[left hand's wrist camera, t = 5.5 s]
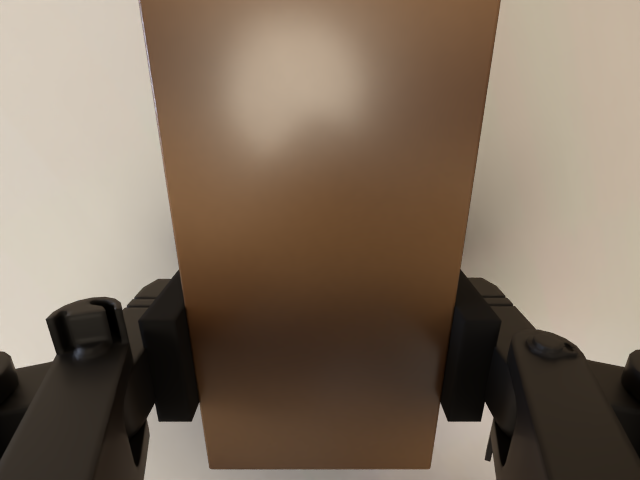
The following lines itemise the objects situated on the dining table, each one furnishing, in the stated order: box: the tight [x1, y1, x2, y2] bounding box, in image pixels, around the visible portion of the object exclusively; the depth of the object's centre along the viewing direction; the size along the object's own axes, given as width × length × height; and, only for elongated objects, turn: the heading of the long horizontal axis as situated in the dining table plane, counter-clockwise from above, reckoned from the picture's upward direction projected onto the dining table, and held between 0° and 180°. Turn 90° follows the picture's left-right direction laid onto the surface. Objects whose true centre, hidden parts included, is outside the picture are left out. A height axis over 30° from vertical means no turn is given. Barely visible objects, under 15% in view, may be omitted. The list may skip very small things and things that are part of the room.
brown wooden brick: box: [139, 0, 501, 469], centre depth 10 cm, size 19×6×8 cm, turn 0°
